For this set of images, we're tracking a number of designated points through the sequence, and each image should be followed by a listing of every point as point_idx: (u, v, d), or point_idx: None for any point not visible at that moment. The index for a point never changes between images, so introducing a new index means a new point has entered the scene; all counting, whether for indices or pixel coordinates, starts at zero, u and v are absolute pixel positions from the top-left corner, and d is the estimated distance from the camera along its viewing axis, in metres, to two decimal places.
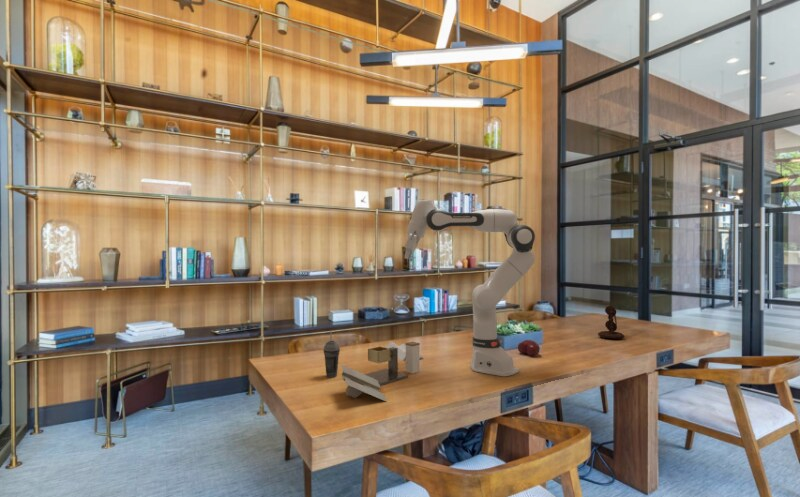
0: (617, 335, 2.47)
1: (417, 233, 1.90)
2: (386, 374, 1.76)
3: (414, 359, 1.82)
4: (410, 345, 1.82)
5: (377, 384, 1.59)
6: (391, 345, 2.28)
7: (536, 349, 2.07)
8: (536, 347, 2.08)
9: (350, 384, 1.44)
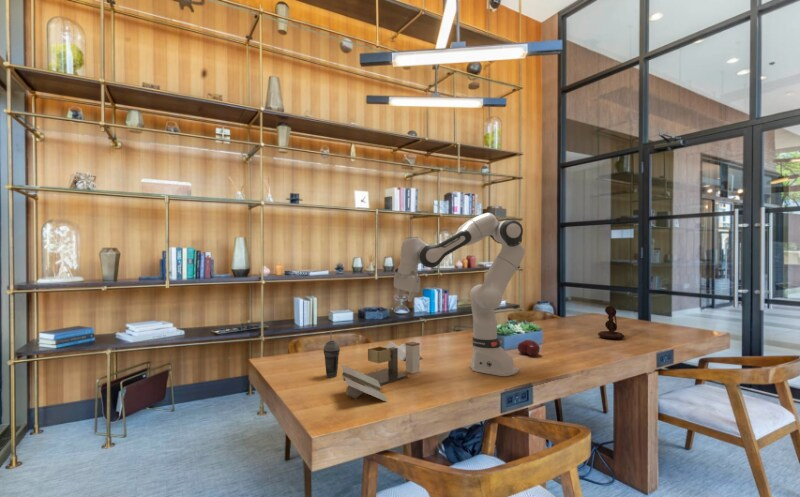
0: (617, 335, 2.47)
1: None
2: (386, 374, 1.76)
3: (414, 359, 1.82)
4: (410, 345, 1.82)
5: (377, 384, 1.58)
6: (391, 345, 2.28)
7: (536, 349, 2.07)
8: (536, 347, 2.08)
9: (350, 384, 1.44)
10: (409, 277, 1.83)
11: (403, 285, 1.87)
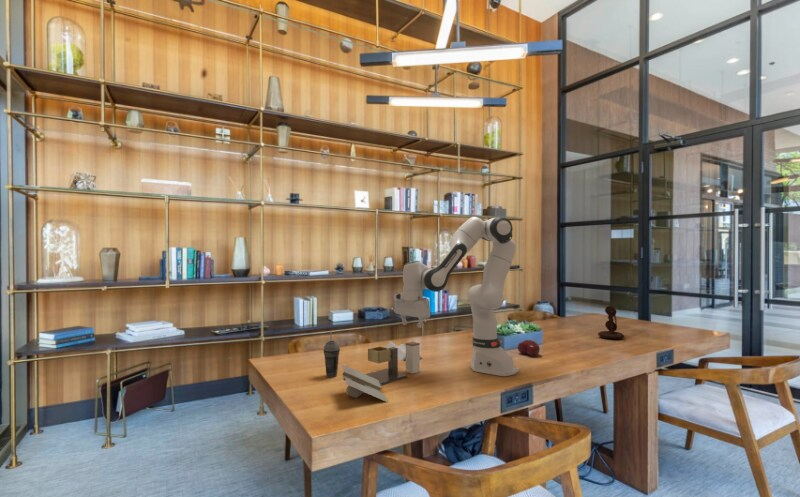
0: (617, 335, 2.47)
1: None
2: (386, 374, 1.76)
3: (414, 359, 1.82)
4: (410, 345, 1.82)
5: (378, 384, 1.58)
6: (390, 345, 2.28)
7: (536, 349, 2.07)
8: (536, 347, 2.08)
9: (350, 384, 1.44)
10: (417, 303, 1.80)
11: (410, 311, 1.83)
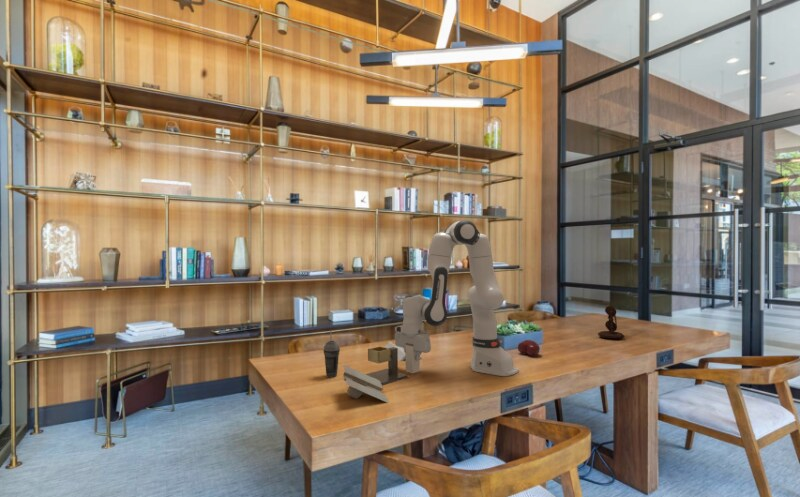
0: (617, 335, 2.47)
1: (421, 331, 1.82)
2: (386, 374, 1.76)
3: (414, 359, 1.82)
4: (410, 345, 1.82)
5: (379, 385, 1.58)
6: (389, 345, 2.28)
7: (536, 349, 2.07)
8: (536, 347, 2.08)
9: (351, 384, 1.43)
10: (418, 337, 1.79)
11: None
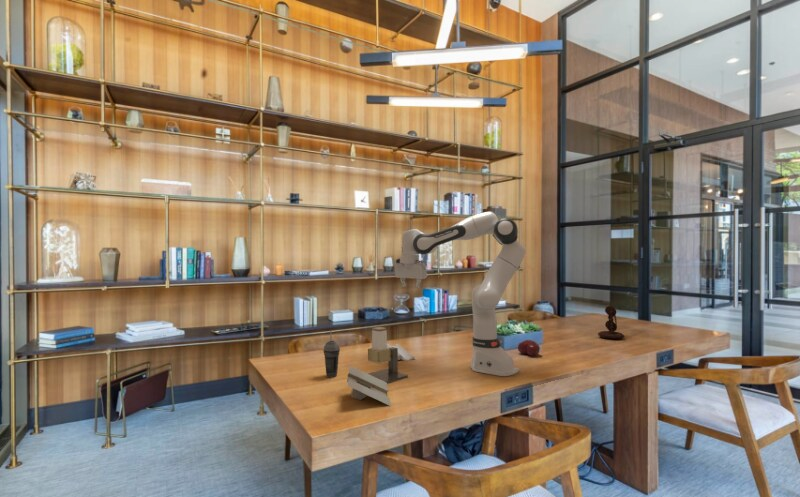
0: (617, 335, 2.47)
1: None
2: (386, 374, 1.76)
3: (380, 345, 1.71)
4: (376, 330, 1.71)
5: (385, 387, 1.55)
6: None
7: (536, 349, 2.07)
8: (536, 347, 2.08)
9: (352, 386, 1.42)
10: (415, 265, 2.00)
11: (409, 274, 2.04)
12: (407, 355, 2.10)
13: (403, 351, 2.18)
